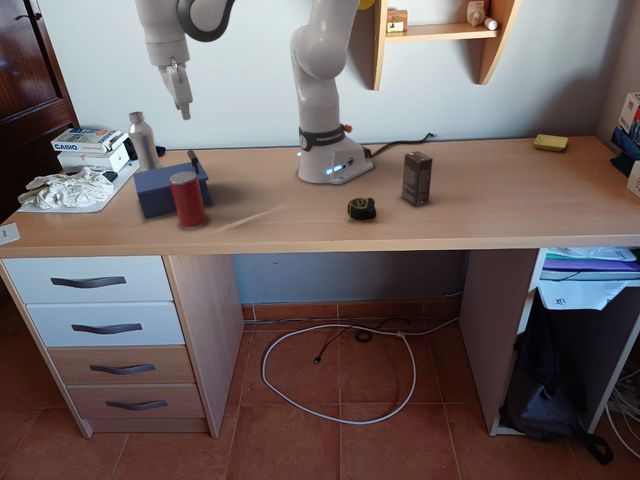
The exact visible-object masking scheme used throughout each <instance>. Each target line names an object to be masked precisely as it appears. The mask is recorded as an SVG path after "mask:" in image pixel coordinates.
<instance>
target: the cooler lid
mask: <svg viewBox="0 0 640 480" xmlns="http://www.w3.org/2000/svg"><path fill="white" fill-rule="evenodd" d="M186 154H187V156H188V159H189V160H190V161H189V162H184V163H179V164H174V165H169V166H164V167H163V168H159V169H154V170H149V171H144V172H140V171H139V172H134V173H132V177H133V183H134V185H135V190H136V191H135V192H136V194H137V196H138V195H142V194H147V193H152V192H156V191H161V190H165V189H170V188H171V186H170V183H169V180H170V177H171V176H172V175H174V174H176V173H179V172H186V171H189V172H194V173H195V174H196V175H197V178H198V182H202V181H206V182H207V181H209V180H210V179H209V176H208V174H207V172H206V171H205V169H204V167H203V166H202V164H201V162H200V160H199V158H198V156H197V154H196V153H195V151H194V150H193V149H188V150H187V152H186Z"/></svg>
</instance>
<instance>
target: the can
mask: <svg viewBox="0 0 640 480" xmlns="http://www.w3.org/2000/svg"><path fill="white" fill-rule="evenodd" d="M169 183H170V186H171V190H172V194H173V198H174V202H175V206H176V210H177V212H176V213H177V216H178V221H179V224H180V225H181V226H182V227H185V228H195V227H198V226H201V225H203V224H204V223H205V222H206V221H207V214H206V210H205V205H203V200H202V196H201V191H200V187H199V182H198V178H197V175H196V174H195V173H194V172H189V171H186V172H179V173H176V174H174V175H172V176H171V177H170V180H169Z"/></svg>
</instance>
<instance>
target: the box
mask: <svg viewBox="0 0 640 480" xmlns="http://www.w3.org/2000/svg"><path fill="white" fill-rule="evenodd" d="M433 160H434V158H432V157H430V156H429V155H427V154H425V153H422V152H420V151H419V150H418V151H413V152H408V153H405V154H404V162H403V177H402V191H401V198H402V199H404V200H405V201H406V202H408V203H410V204H411V205H412V206H414V207H420V206H423V205H425V204H428V203H429V199H430V189H431V179H432V169H433V168H432V167H433Z"/></svg>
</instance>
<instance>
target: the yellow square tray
mask: <svg viewBox="0 0 640 480" xmlns="http://www.w3.org/2000/svg"><path fill="white" fill-rule="evenodd" d="M568 140H569V138H568V137H566V136H557V135H548V134H541V133H540V134H537V136H536V139H535V140H534V143H533V144H534V147H535V148H537V149H538V150H543V151H551V152H561V151H563V150H564V149H566V146H567V143H568Z"/></svg>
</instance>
